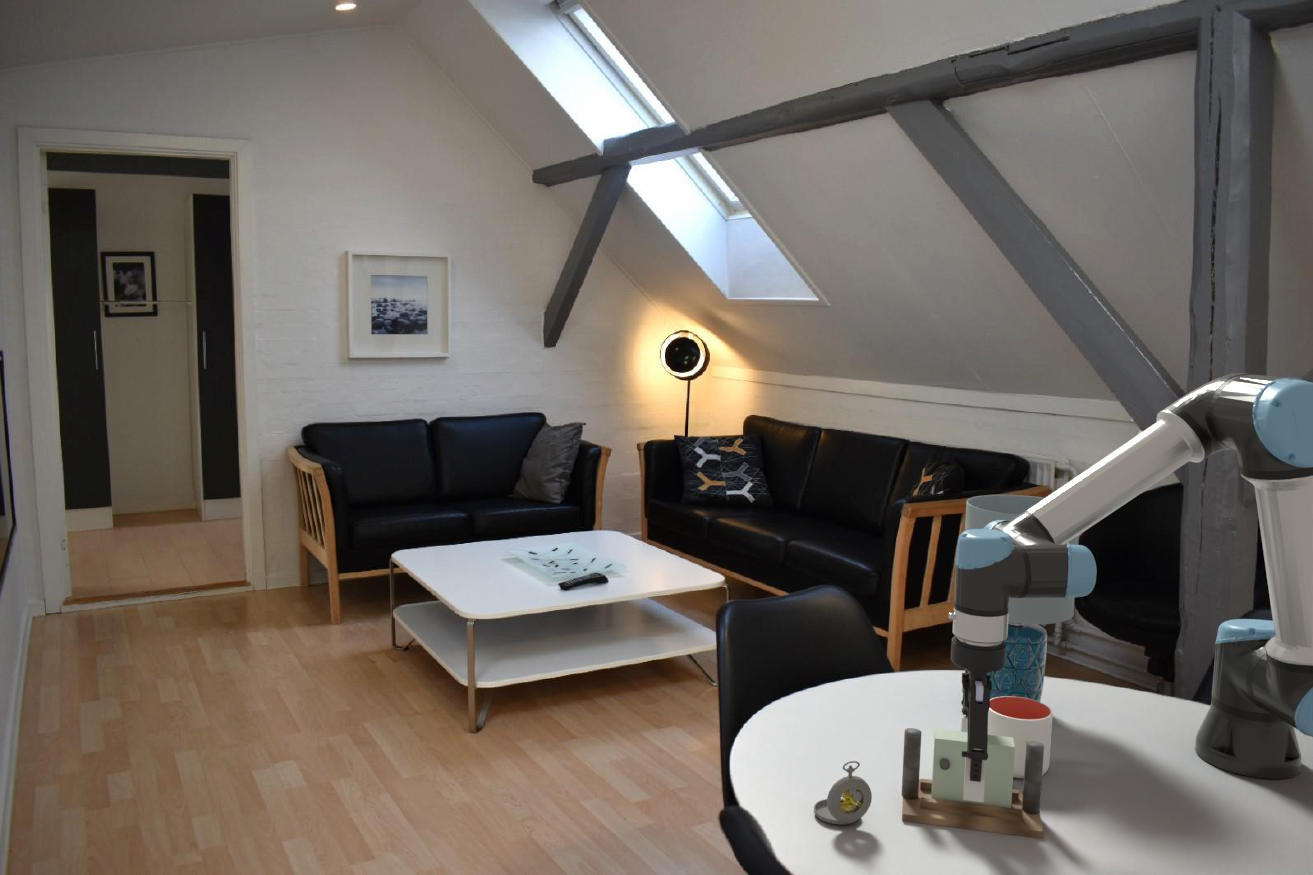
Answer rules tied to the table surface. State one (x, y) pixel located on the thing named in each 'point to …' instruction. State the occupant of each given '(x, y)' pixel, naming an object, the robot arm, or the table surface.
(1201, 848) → the table surface
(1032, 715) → the cup
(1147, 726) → the table surface
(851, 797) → the pocket watch
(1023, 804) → the hinge board
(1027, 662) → the lamp
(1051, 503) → the robot arm
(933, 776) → the door
